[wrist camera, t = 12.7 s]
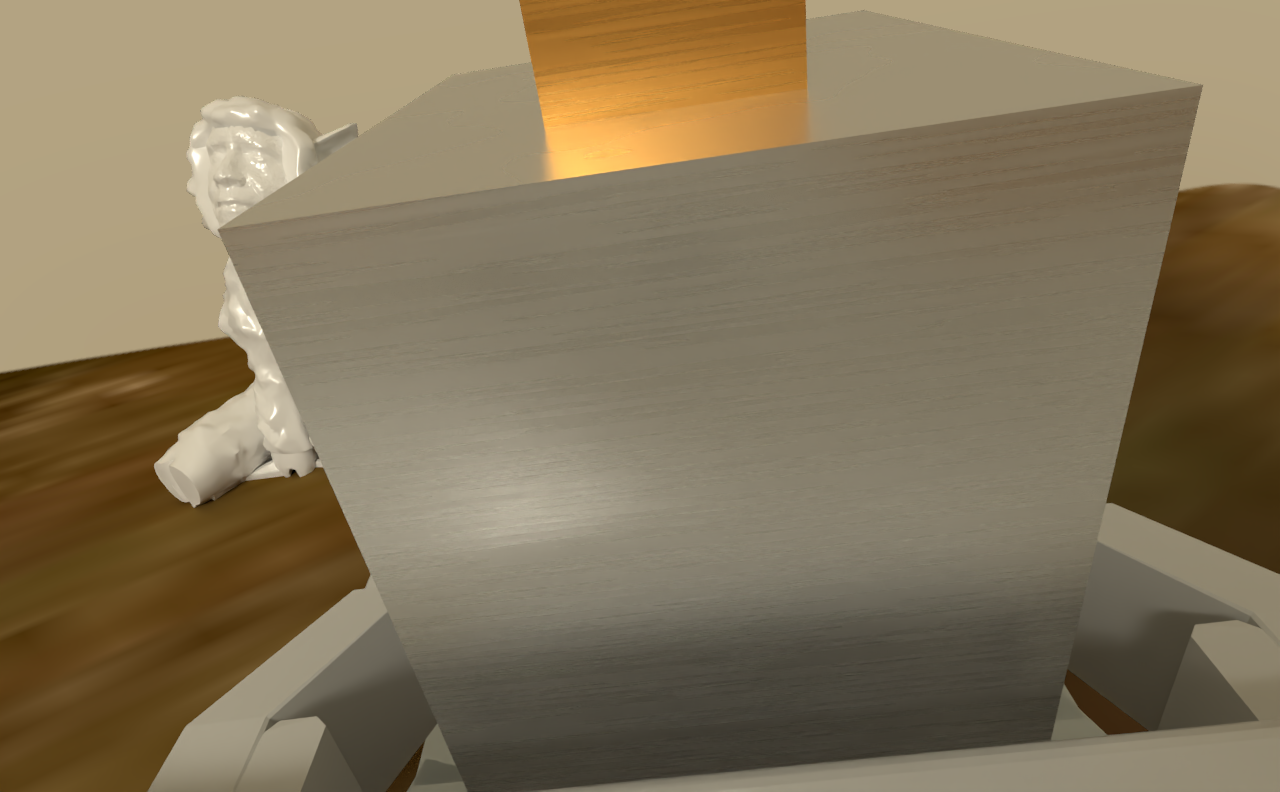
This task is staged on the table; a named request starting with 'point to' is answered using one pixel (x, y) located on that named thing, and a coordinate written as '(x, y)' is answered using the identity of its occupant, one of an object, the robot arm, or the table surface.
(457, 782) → the bracket
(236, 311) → the white creature statuette
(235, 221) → the block
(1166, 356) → the table surface
